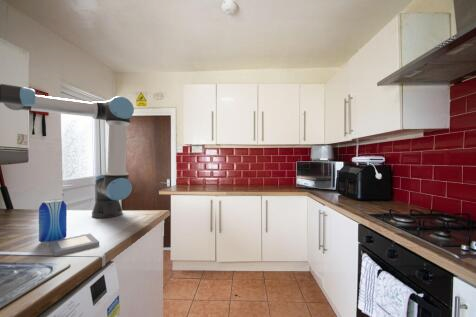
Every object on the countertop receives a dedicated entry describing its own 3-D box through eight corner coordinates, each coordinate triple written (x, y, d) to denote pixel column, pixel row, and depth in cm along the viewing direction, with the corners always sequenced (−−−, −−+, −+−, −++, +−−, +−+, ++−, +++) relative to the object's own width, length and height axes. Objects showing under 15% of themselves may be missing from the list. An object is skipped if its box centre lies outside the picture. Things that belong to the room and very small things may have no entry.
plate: (90, 237, 95) (90, 233, 95) (99, 245, 86) (99, 241, 86) (49, 245, 85) (49, 241, 85) (54, 256, 76) (54, 251, 76)
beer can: (68, 241, 90) (68, 200, 90) (39, 247, 84) (40, 203, 84) (64, 236, 96) (64, 197, 96) (37, 241, 90) (37, 200, 90)
